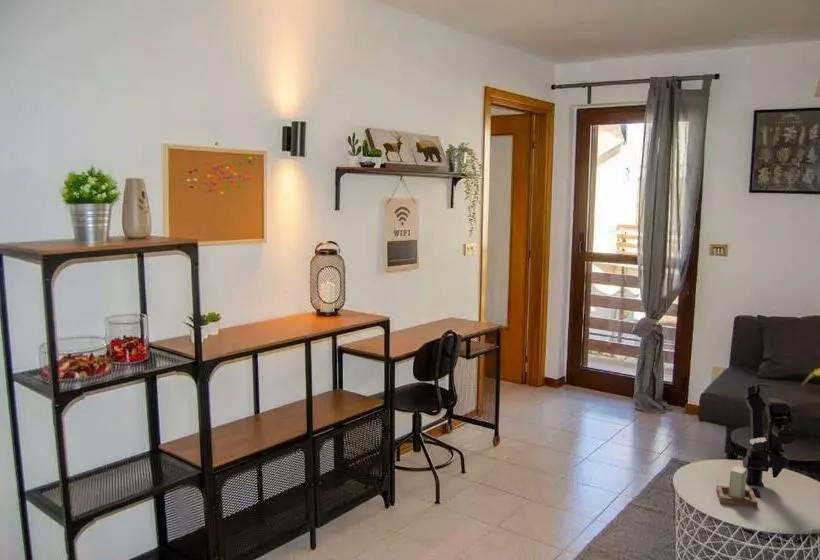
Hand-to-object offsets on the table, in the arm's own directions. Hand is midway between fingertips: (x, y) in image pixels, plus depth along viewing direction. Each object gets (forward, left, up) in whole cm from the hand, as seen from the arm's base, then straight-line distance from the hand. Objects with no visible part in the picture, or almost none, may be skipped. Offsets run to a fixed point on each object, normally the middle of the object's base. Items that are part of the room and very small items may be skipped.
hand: (772, 472), depth 252 cm
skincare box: (0, -12, -13) cm, 17 cm away
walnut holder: (0, -12, -13) cm, 17 cm away
